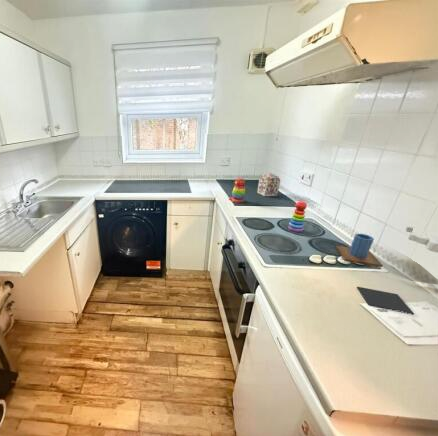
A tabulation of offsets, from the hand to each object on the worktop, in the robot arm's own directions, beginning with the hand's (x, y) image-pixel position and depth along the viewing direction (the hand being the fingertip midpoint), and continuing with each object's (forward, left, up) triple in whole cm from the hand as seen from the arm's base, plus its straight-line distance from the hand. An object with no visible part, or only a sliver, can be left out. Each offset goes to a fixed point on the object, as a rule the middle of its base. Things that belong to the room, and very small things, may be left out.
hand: (407, 232), depth 94 cm
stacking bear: (+64, -74, -18) cm, 99 cm away
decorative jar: (+41, -100, -18) cm, 110 cm away
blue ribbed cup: (+11, -4, -15) cm, 19 cm away
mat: (+12, +24, -18) cm, 32 cm away
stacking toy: (+32, -26, -18) cm, 45 cm away
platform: (+11, -4, -18) cm, 21 cm away
